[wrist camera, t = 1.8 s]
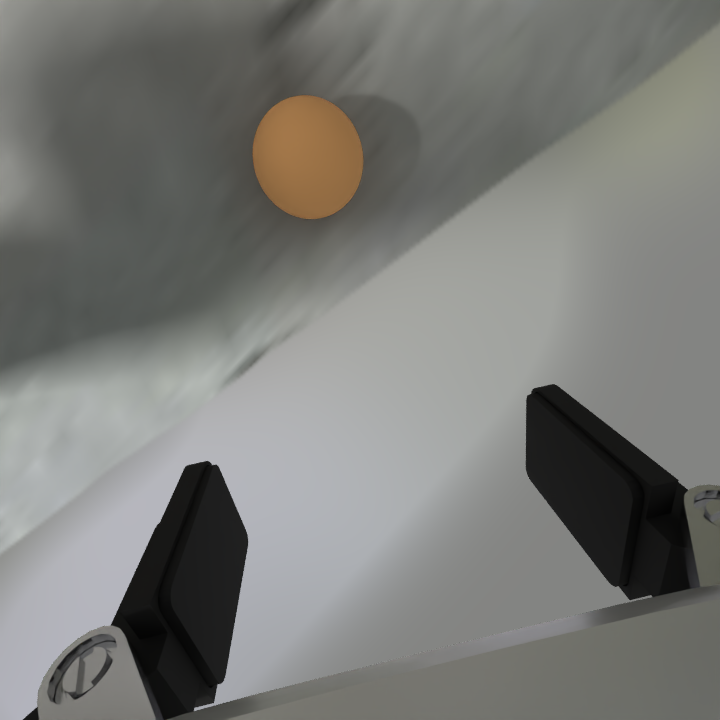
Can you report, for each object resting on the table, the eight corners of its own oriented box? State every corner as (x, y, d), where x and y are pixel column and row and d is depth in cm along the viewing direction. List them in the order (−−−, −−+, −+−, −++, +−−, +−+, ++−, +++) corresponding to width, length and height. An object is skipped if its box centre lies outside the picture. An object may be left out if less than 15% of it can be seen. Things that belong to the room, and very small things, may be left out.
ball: (274, 224, 25) (264, 233, 19) (247, 117, 22) (227, 93, 17) (363, 206, 25) (379, 210, 20) (347, 99, 23) (359, 70, 17)
